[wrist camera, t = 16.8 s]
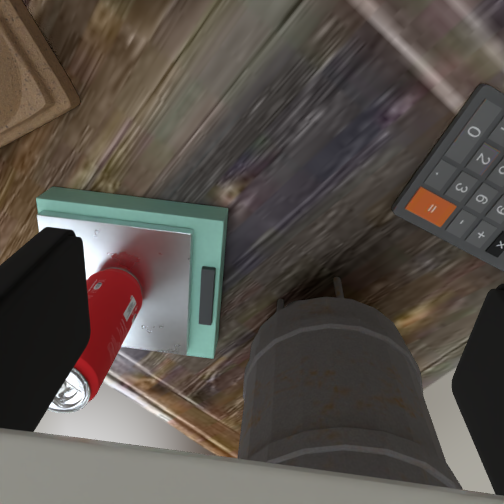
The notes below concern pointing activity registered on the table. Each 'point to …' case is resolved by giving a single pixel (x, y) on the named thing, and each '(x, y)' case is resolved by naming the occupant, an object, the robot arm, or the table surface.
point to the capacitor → (338, 395)
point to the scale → (168, 214)
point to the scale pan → (141, 272)
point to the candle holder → (28, 76)
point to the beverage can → (101, 335)
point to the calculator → (464, 181)
